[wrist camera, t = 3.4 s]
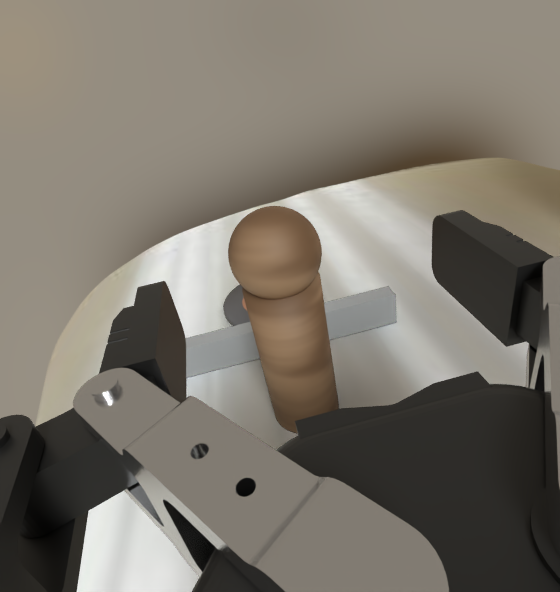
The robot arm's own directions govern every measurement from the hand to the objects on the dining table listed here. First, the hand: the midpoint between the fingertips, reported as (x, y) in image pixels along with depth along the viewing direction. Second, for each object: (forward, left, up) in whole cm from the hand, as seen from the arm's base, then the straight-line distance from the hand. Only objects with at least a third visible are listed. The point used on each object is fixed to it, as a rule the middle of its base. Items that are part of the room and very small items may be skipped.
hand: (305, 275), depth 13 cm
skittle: (-10, -5, -18) cm, 21 cm away
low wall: (-16, -9, -18) cm, 26 cm away
